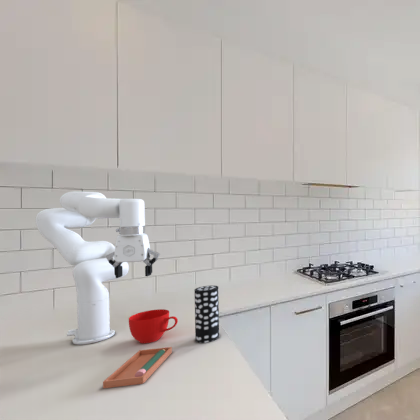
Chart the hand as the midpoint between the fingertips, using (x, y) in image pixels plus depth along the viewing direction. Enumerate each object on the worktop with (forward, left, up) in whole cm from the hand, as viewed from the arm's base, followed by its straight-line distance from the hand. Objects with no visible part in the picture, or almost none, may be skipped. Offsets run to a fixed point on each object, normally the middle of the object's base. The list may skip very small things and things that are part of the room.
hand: (133, 276), depth 117 cm
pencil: (+14, -20, -24) cm, 34 cm away
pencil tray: (+11, -20, -26) cm, 35 cm away
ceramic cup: (+5, +4, -26) cm, 27 cm away
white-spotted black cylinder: (+25, 0, -26) cm, 36 cm away
